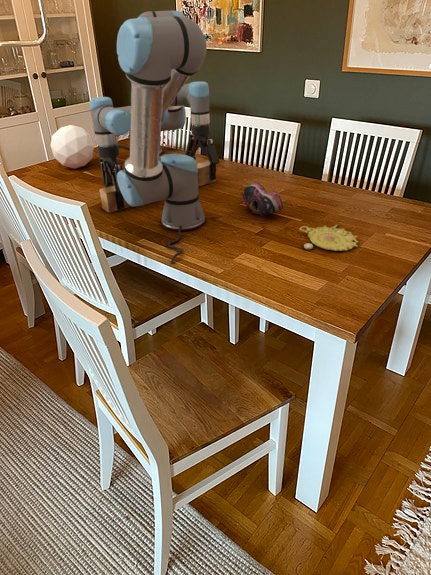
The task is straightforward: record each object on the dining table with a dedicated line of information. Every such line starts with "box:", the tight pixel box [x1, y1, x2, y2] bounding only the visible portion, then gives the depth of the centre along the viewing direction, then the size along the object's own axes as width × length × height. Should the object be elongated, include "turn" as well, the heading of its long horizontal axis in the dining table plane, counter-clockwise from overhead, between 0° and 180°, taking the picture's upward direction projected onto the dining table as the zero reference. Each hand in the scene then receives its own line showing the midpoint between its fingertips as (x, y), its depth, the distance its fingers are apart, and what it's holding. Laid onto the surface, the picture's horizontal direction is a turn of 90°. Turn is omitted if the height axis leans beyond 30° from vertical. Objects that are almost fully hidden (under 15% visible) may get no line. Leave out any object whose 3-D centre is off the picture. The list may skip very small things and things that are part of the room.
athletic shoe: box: [238, 182, 284, 217], centre depth 160 cm, size 11×22×12 cm
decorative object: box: [299, 224, 359, 252], centre depth 141 cm, size 21×2×20 cm
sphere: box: [50, 124, 95, 170], centre depth 209 cm, size 19×20×20 cm
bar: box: [98, 160, 217, 214], centre depth 178 cm, size 51×6×8 cm, turn 129°
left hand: (202, 176), depth 189 cm, fingers open, 13 cm apart
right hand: (117, 206), depth 169 cm, fingers closed on bar, 6 cm apart
